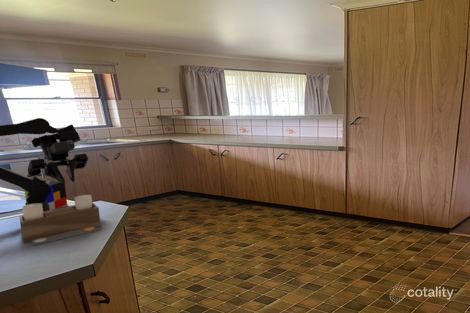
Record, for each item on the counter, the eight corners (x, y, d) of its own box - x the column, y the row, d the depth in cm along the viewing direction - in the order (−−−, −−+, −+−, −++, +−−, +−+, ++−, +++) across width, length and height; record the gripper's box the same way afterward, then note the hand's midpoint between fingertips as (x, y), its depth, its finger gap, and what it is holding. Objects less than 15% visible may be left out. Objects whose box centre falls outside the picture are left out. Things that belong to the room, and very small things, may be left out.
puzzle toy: (48, 211, 123) (45, 186, 121) (27, 211, 125) (24, 186, 123) (67, 204, 132) (64, 181, 131) (47, 204, 134) (44, 181, 133)
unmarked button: (24, 225, 96) (22, 205, 95) (43, 221, 99) (41, 202, 98) (25, 229, 92) (22, 208, 91) (45, 225, 95) (42, 205, 94)
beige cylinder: (75, 215, 104) (73, 196, 103) (91, 211, 107) (89, 194, 106) (78, 218, 100) (75, 199, 99) (94, 215, 103) (92, 196, 102)
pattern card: (31, 241, 91) (31, 239, 91) (94, 227, 101) (94, 225, 101) (33, 245, 87) (32, 243, 87) (97, 230, 97) (97, 228, 97)
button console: (21, 234, 97) (19, 216, 96) (94, 219, 109) (92, 202, 109) (23, 243, 90) (20, 223, 89) (100, 225, 102) (98, 207, 101)
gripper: (26, 135, 102) (44, 171, 96) (83, 131, 116) (101, 162, 111) (20, 158, 108) (37, 193, 102) (75, 152, 122) (92, 182, 117)
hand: (69, 182), depth 108 cm, fingers open, 3 cm apart
